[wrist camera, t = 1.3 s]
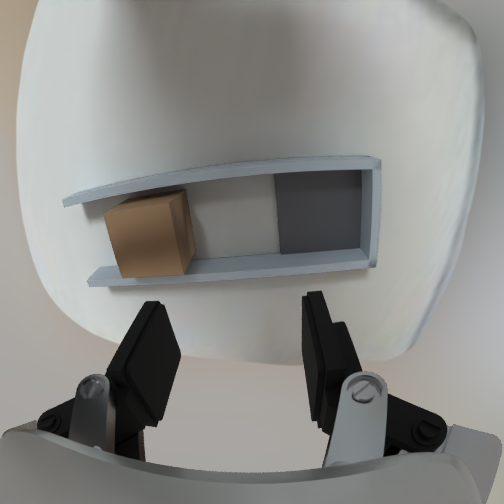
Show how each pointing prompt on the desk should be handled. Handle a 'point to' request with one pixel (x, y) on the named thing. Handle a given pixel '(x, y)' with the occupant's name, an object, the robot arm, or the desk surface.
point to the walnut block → (152, 235)
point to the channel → (280, 218)
